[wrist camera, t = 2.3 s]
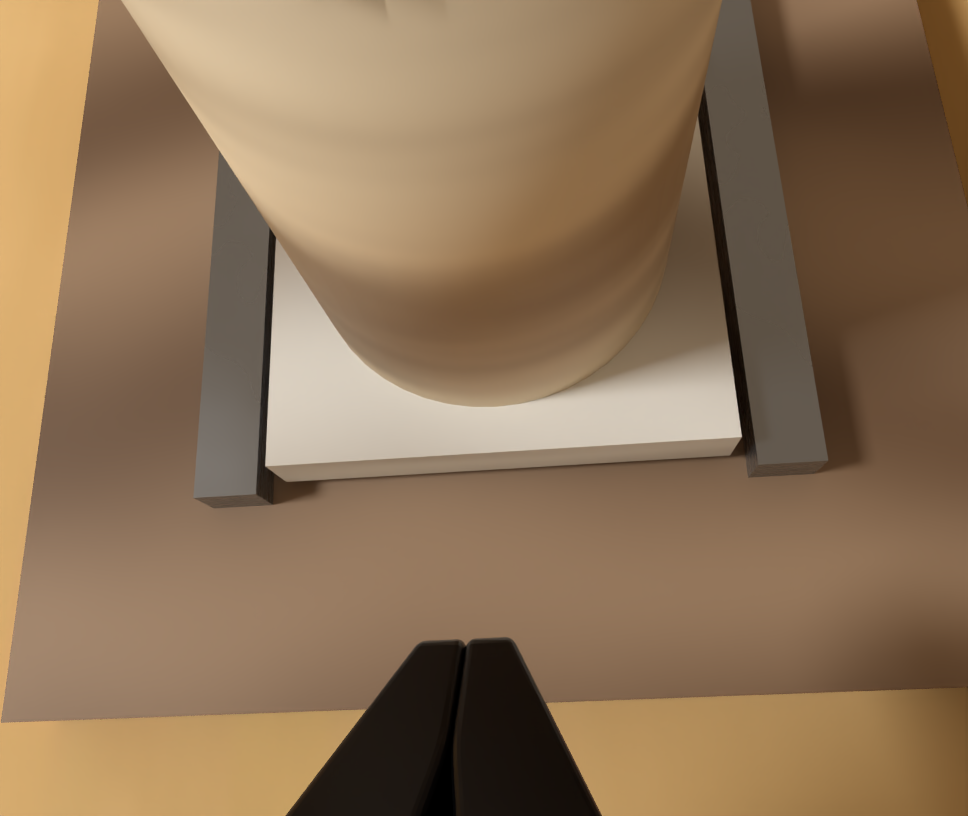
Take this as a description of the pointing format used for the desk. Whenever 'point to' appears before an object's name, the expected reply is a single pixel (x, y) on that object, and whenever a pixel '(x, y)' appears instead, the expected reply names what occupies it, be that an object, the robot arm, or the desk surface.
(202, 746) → the desk surface
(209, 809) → the desk surface
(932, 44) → the desk surface
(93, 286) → the track board
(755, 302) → the grey slider guide rails
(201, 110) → the knob slider
